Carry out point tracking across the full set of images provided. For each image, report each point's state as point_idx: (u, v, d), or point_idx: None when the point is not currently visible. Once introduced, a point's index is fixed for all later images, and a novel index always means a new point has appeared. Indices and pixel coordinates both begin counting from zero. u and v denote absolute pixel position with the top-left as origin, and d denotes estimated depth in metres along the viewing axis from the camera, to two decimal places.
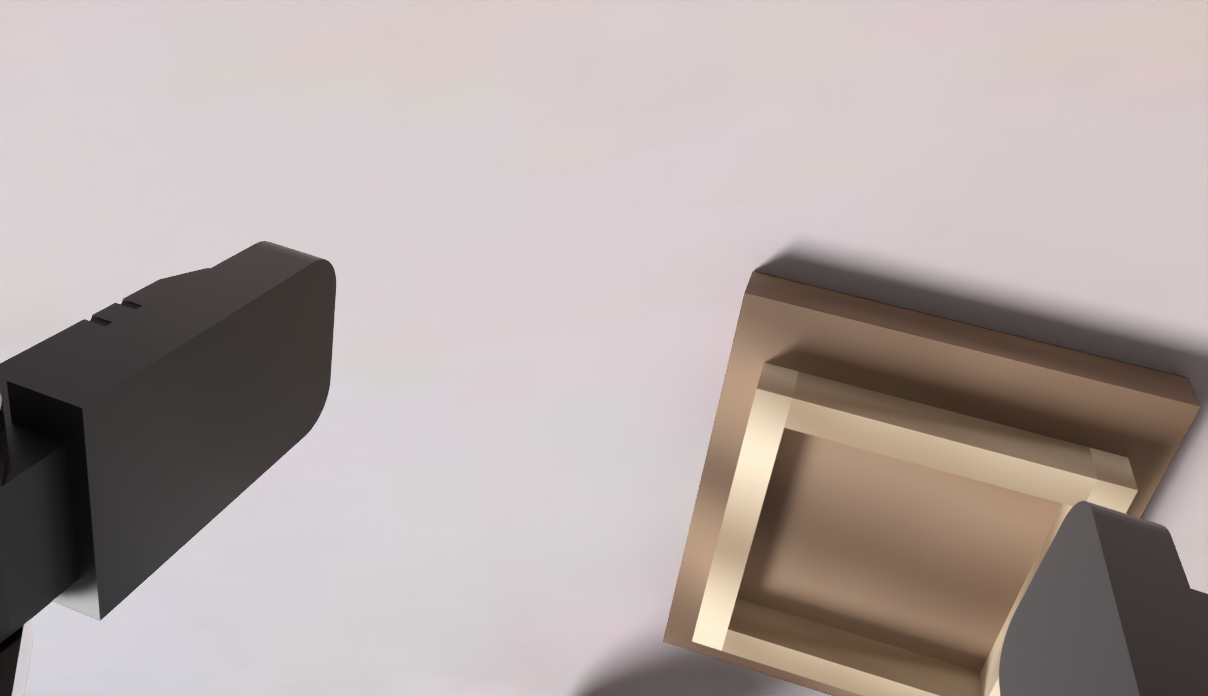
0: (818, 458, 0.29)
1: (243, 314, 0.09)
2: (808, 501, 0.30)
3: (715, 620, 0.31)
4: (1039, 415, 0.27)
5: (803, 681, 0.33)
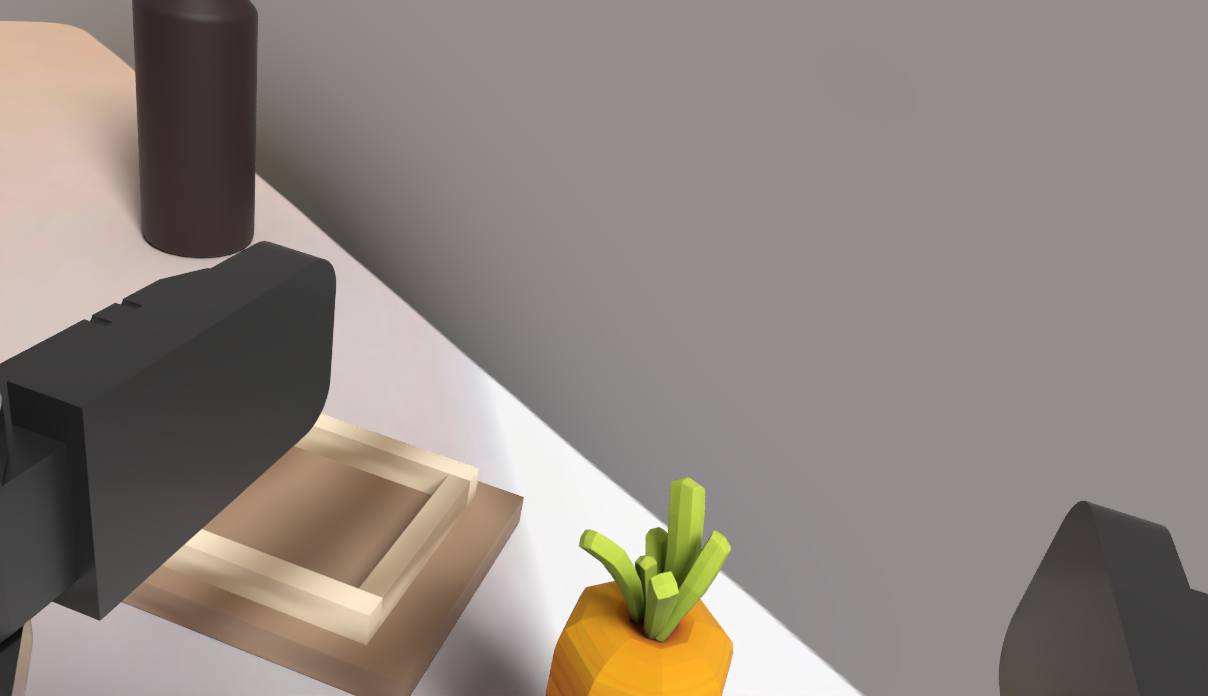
0: None
1: (243, 314, 0.09)
2: (267, 555, 0.39)
3: (347, 594, 0.36)
4: None
5: (455, 593, 0.39)
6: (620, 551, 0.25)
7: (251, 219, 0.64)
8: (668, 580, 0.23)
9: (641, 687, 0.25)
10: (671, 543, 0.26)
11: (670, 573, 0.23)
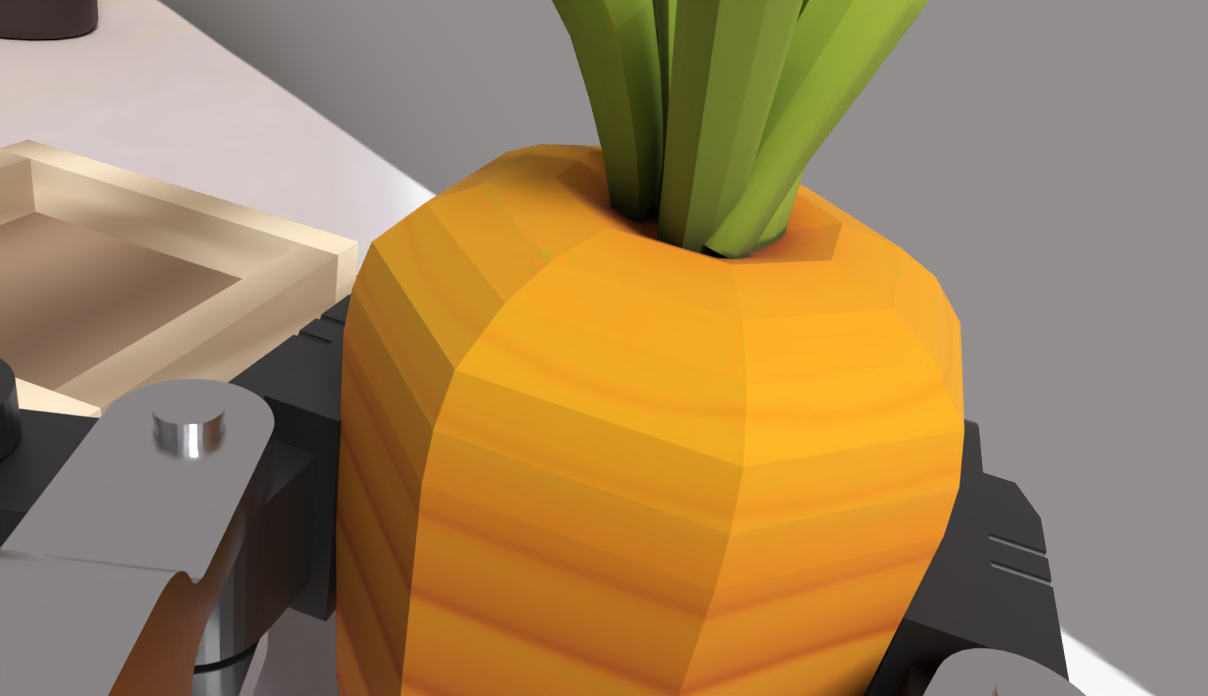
0: None
1: None
2: None
3: (22, 398, 0.17)
4: None
5: None
6: None
7: None
8: None
9: (652, 392, 0.06)
10: None
11: None
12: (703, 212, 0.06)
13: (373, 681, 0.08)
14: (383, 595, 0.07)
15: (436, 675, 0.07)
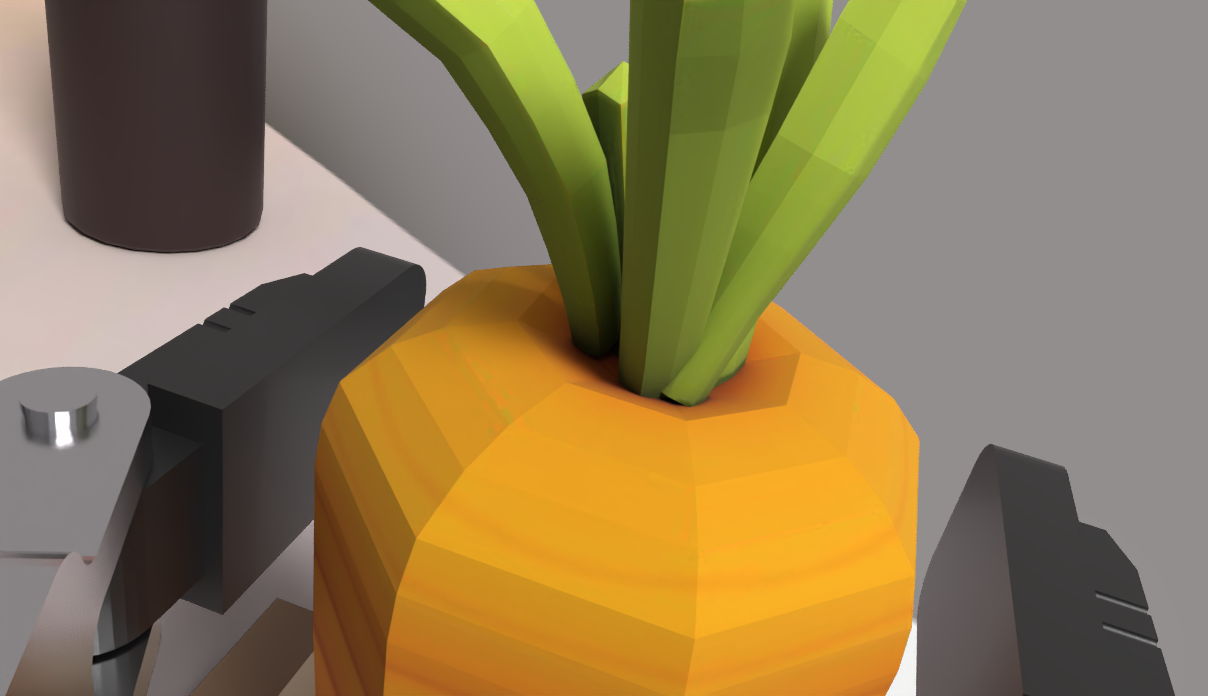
0: None
1: (351, 318, 0.09)
2: None
3: None
4: None
5: None
6: None
7: (258, 185, 0.36)
8: None
9: (607, 564, 0.06)
10: None
11: None
12: (659, 367, 0.07)
13: None
14: None
15: None
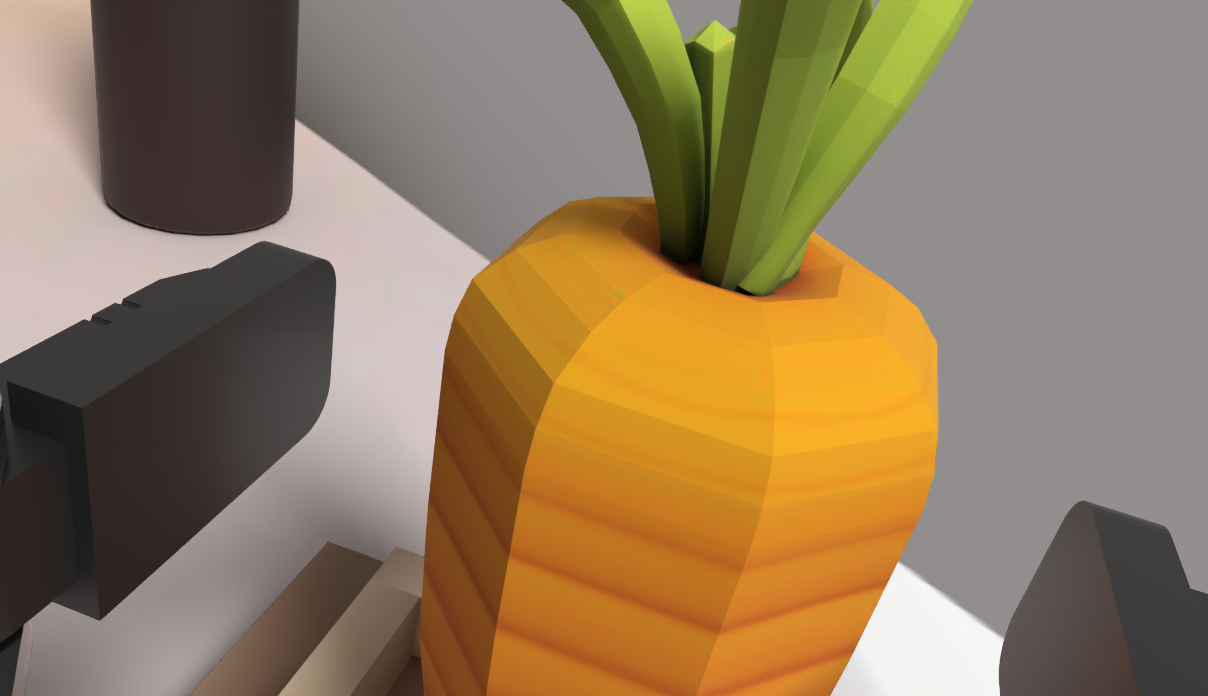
0: None
1: (243, 314, 0.09)
2: None
3: None
4: None
5: None
6: None
7: (289, 171, 0.37)
8: None
9: (703, 401, 0.08)
10: None
11: None
12: (738, 261, 0.08)
13: (464, 631, 0.10)
14: (479, 559, 0.09)
15: (524, 620, 0.09)
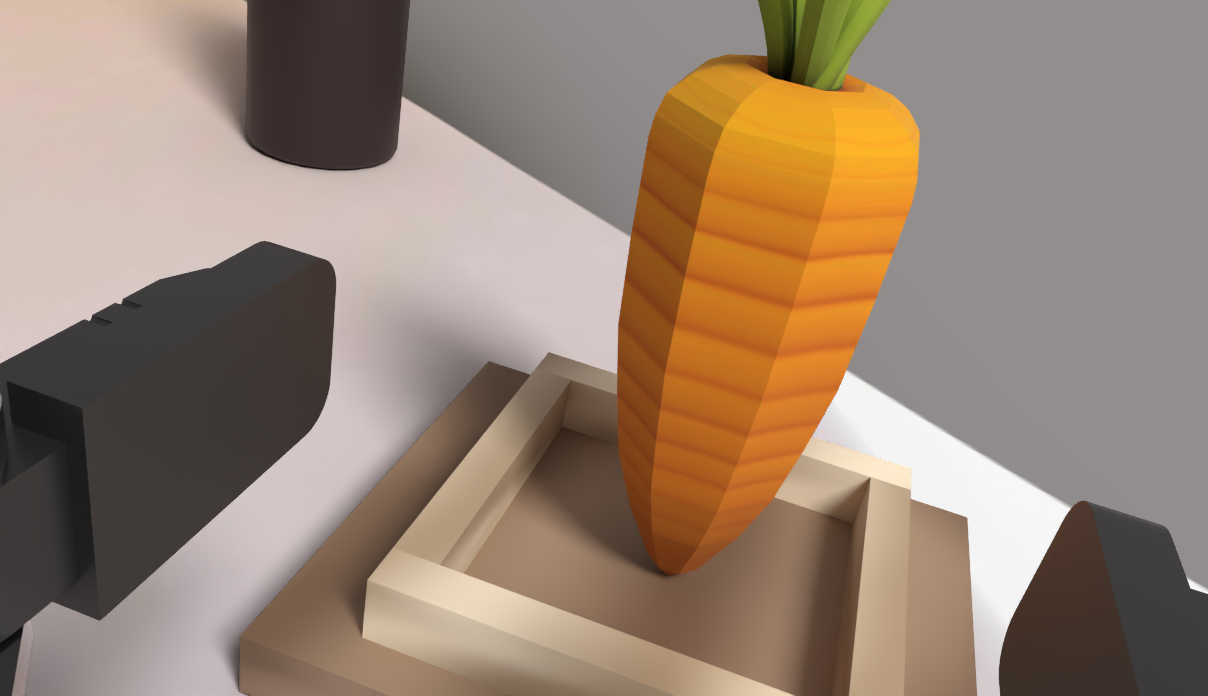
0: None
1: (242, 313, 0.09)
2: None
3: None
4: None
5: None
6: None
7: (398, 119, 0.45)
8: None
9: (800, 132, 0.15)
10: None
11: None
12: (813, 71, 0.16)
13: (658, 295, 0.17)
14: (672, 245, 0.17)
15: (701, 269, 0.16)
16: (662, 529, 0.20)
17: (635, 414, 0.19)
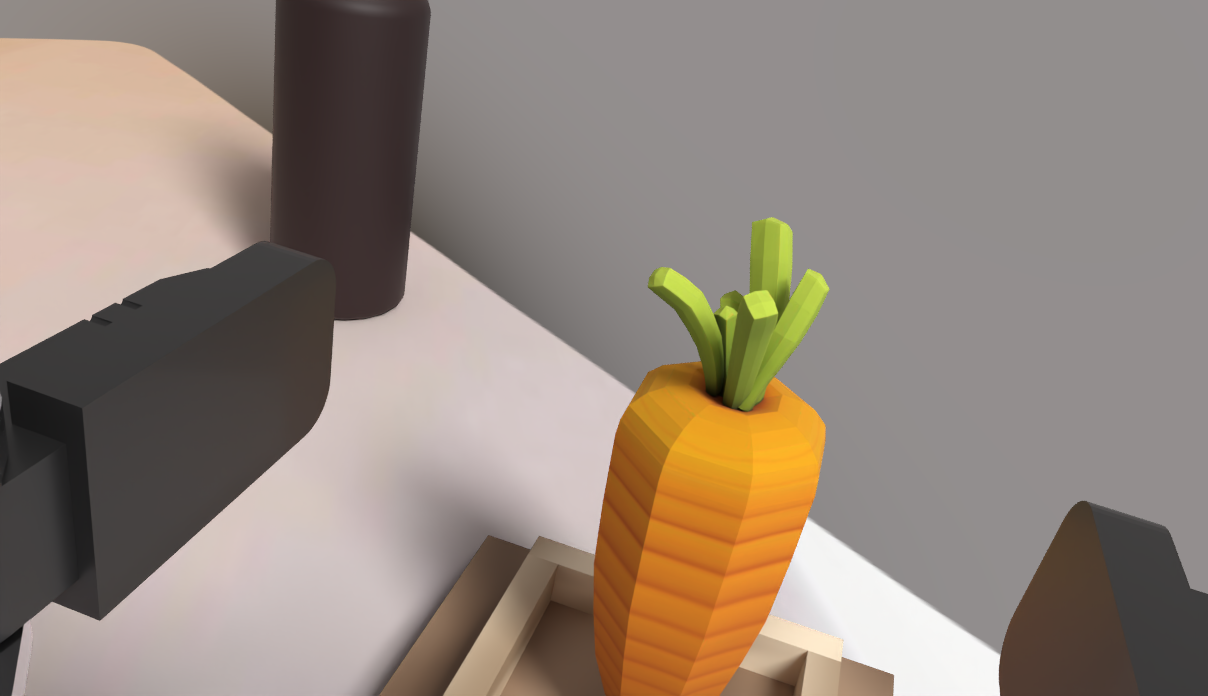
0: None
1: (243, 314, 0.09)
2: None
3: None
4: (487, 614, 0.30)
5: None
6: (697, 292, 0.21)
7: (405, 269, 0.50)
8: (764, 298, 0.19)
9: (726, 455, 0.20)
10: None
11: (766, 291, 0.19)
12: (738, 399, 0.21)
13: (623, 554, 0.22)
14: (633, 521, 0.22)
15: (655, 544, 0.21)
16: None
17: (607, 634, 0.24)
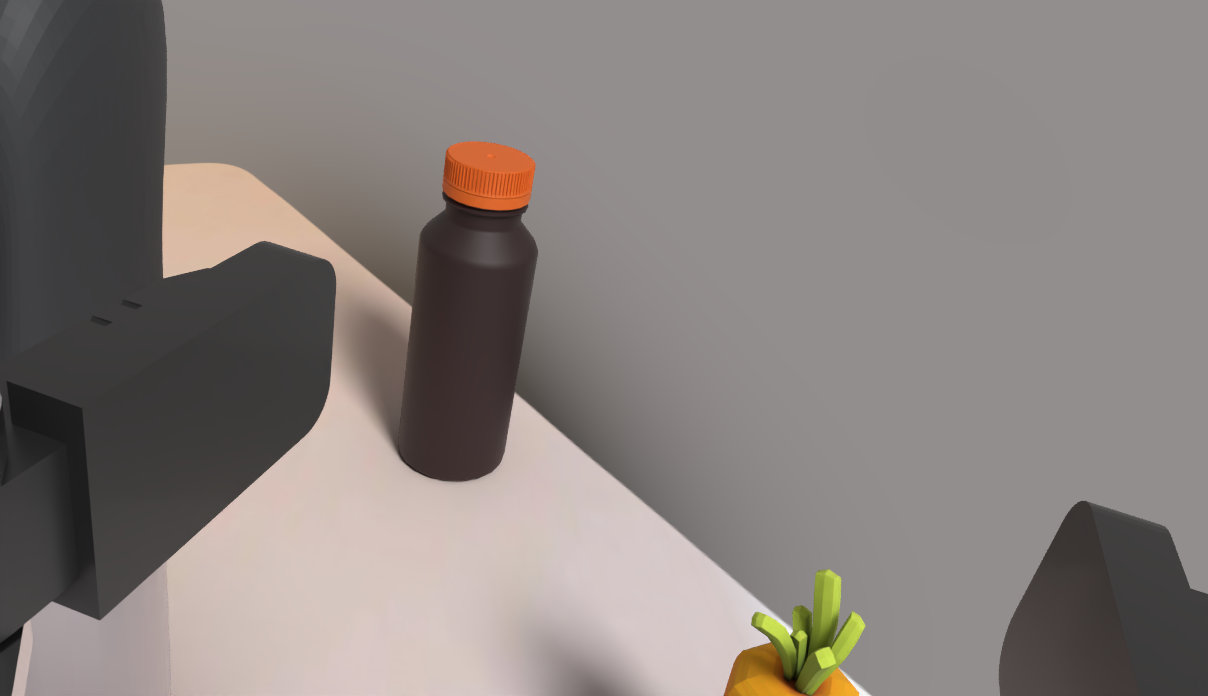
0: None
1: (243, 314, 0.09)
2: None
3: None
4: None
5: None
6: (782, 628, 0.33)
7: (506, 435, 0.62)
8: (828, 654, 0.31)
9: None
10: (816, 619, 0.34)
11: (829, 648, 0.31)
12: (805, 690, 0.33)
13: None
14: None
15: None
16: None
17: None
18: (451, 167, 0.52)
